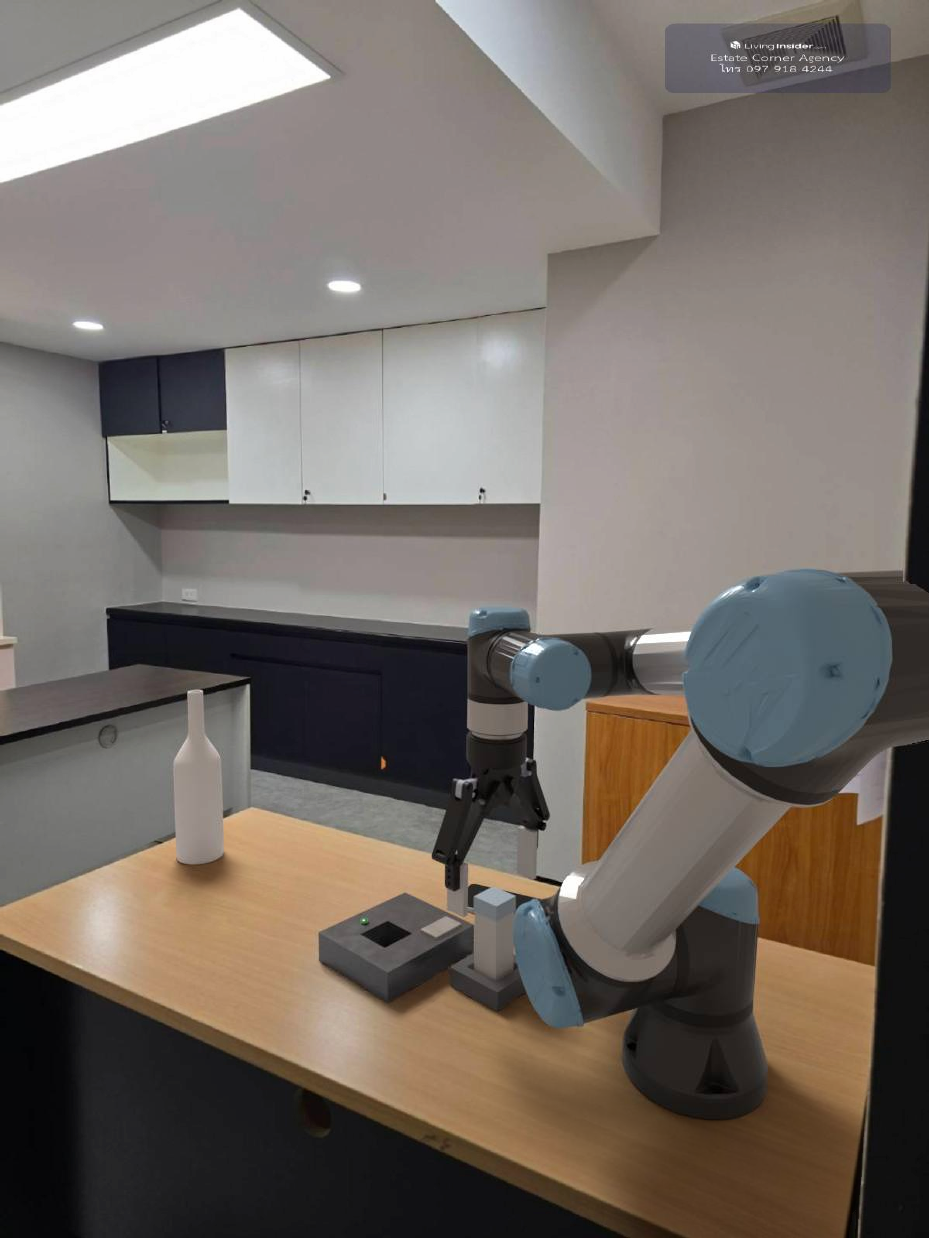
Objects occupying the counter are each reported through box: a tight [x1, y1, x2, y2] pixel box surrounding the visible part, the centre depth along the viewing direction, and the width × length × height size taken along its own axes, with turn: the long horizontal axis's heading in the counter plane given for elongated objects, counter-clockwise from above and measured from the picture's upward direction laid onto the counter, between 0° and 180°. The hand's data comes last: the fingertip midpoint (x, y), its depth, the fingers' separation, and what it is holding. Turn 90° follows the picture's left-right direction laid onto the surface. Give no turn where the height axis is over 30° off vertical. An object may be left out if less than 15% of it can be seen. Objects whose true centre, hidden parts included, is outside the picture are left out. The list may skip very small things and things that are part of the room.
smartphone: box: [468, 883, 541, 915], centre depth 120 cm, size 8×1×15 cm
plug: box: [473, 886, 516, 982], centre depth 98 cm, size 4×4×12 cm
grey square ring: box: [449, 952, 526, 1012], centre depth 99 cm, size 8×8×2 cm
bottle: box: [172, 689, 225, 866], centre depth 136 cm, size 8×8×30 cm
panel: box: [318, 892, 475, 1004], centre depth 105 cm, size 14×16×4 cm
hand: (493, 893), depth 98 cm, fingers open, 13 cm apart
